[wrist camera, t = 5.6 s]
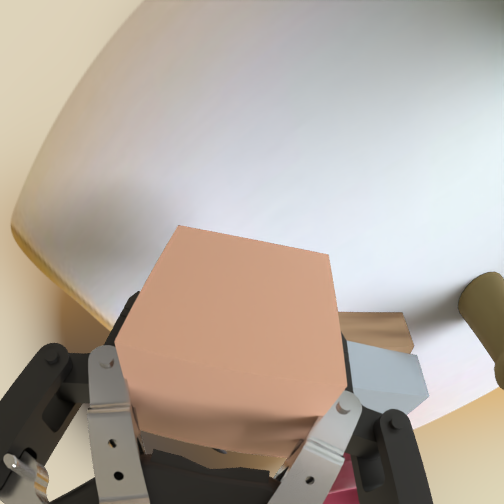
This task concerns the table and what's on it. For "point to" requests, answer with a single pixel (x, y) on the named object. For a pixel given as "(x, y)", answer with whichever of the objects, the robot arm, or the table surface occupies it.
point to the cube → (233, 343)
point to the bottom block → (377, 330)
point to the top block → (386, 378)
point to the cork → (487, 316)
